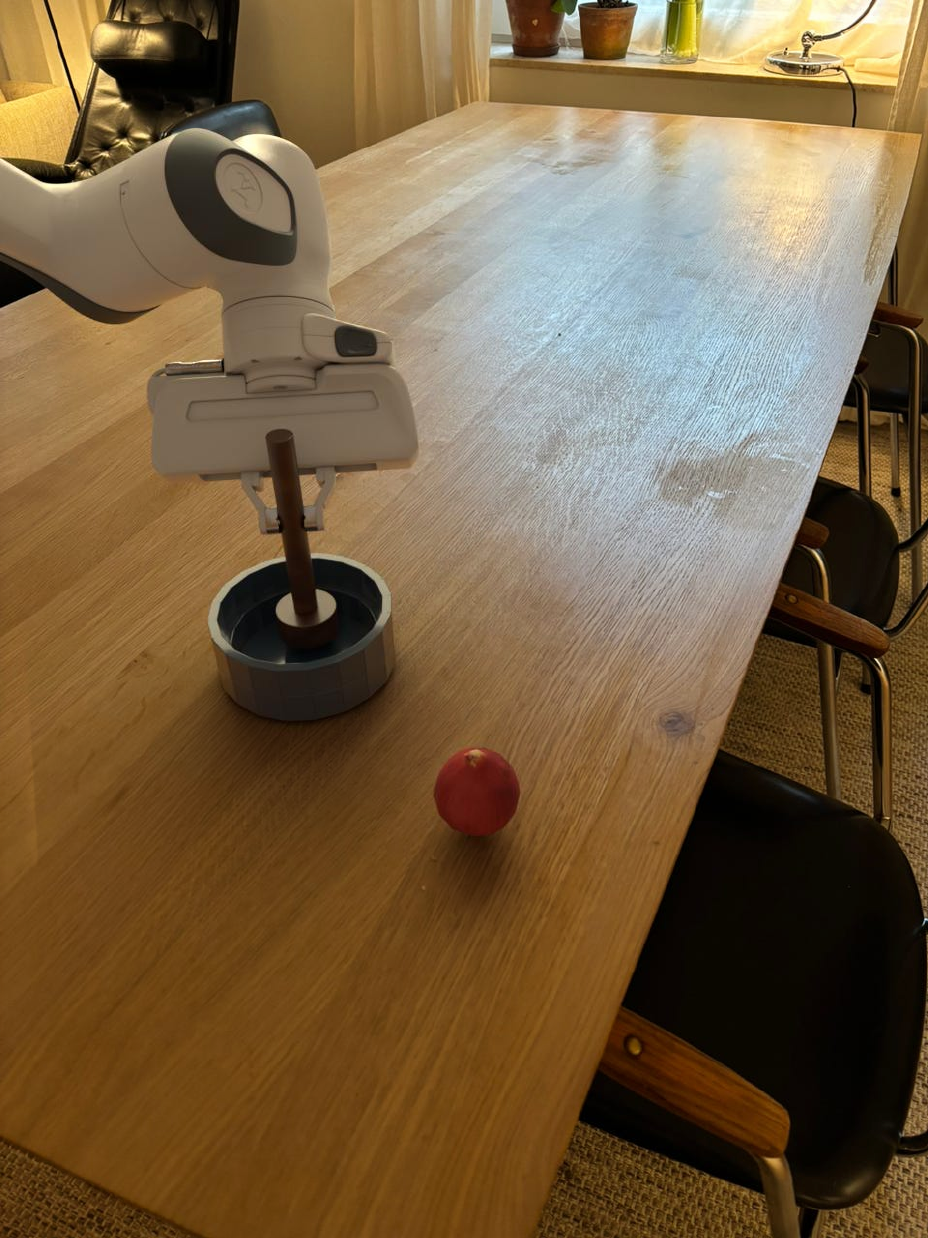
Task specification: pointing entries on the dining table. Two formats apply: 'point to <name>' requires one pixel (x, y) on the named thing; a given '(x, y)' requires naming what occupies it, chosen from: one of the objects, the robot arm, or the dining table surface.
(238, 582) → the bowl
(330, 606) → the upright rod on disc
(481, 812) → the onion
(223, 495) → the dining table surface
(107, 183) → the robot arm
